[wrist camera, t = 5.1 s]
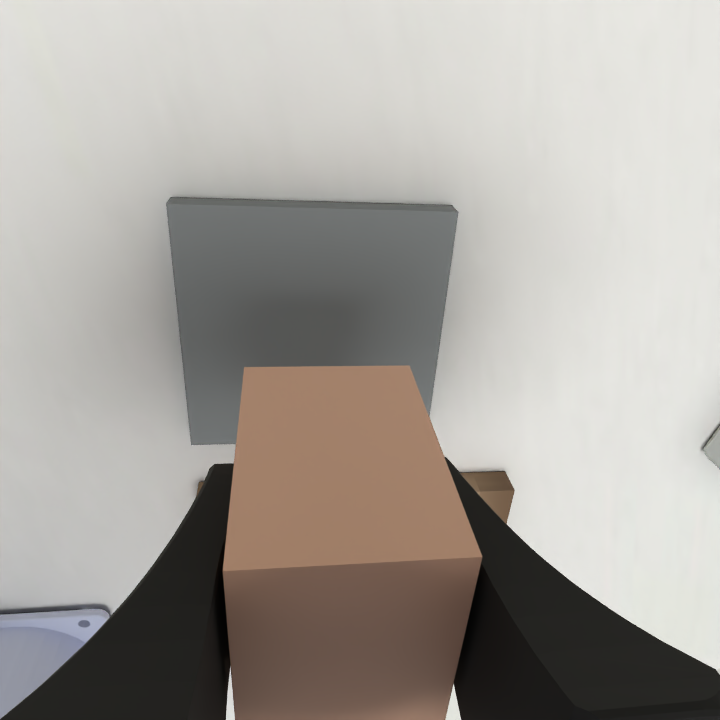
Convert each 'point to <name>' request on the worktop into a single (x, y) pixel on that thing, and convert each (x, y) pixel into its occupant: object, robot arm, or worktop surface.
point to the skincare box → (714, 448)
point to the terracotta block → (343, 549)
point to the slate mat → (303, 293)
